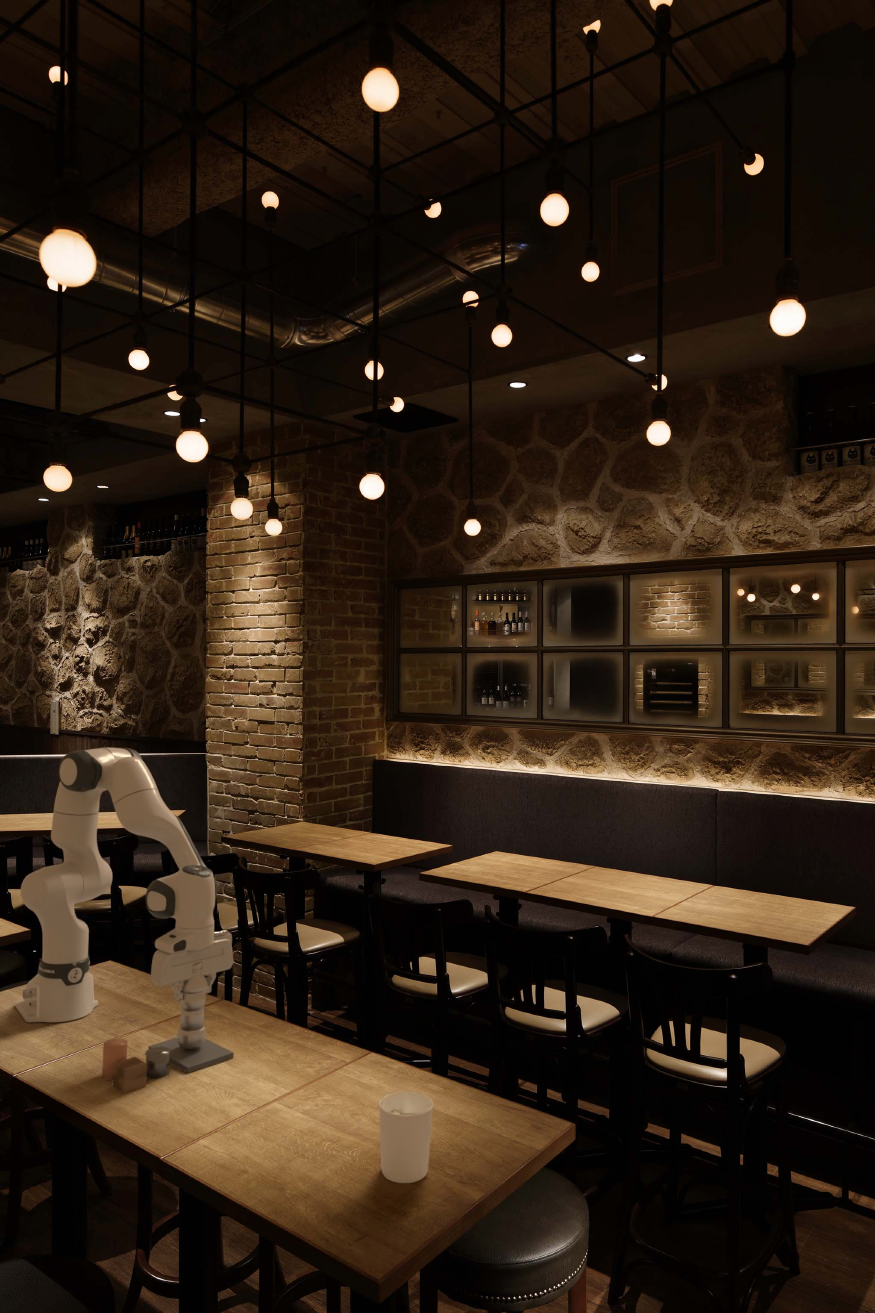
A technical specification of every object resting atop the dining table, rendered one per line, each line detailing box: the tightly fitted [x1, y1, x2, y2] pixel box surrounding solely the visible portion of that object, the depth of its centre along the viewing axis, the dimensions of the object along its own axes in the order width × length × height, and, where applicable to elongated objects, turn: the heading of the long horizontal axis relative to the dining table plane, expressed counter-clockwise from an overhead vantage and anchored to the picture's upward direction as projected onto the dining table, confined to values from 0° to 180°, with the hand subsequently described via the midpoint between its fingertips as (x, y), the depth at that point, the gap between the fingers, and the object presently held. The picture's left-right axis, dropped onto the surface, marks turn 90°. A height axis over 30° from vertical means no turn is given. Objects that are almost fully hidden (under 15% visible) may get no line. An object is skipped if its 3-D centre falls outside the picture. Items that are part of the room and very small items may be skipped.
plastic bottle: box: [176, 963, 208, 1049], centre depth 208 cm, size 6×7×20 cm
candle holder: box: [378, 1090, 434, 1184], centre depth 160 cm, size 10×10×12 cm
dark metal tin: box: [145, 1047, 170, 1080], centre depth 197 cm, size 5×5×5 cm
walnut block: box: [111, 1056, 147, 1095], centre depth 190 cm, size 5×5×5 cm
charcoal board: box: [147, 1037, 235, 1074], centre depth 208 cm, size 17×12×1 cm
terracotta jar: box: [101, 1038, 128, 1081], centre depth 196 cm, size 5×5×7 cm
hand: (192, 996), depth 208 cm, fingers closed on plastic bottle, 6 cm apart
